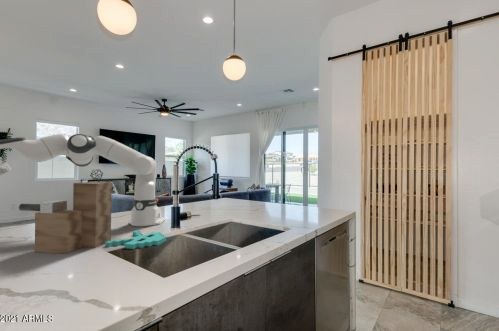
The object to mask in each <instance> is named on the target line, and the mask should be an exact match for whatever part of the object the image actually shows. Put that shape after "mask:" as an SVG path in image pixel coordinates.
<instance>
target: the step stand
mask: <svg viewBox="0 0 499 331" xmlns="http://www.w3.org/2000/svg"><path fill="white" fill-rule="evenodd" d="M72 184H73V185H72V186H73V190H72V191H73V192H72V195H73V196H72V197H73V198H72V200H73V201H72V209H67V210H66V211H61V212H57V213H40V211H36V212H34V253H44V254H45V253H46V254H48V253H49V254H68V253H70V252H73V251H75V250H78V249H80V248H92V249H93V248H95V249H96V248H98V247H100V246H102V245H104V244H105V242H107V241H112V239H111V238H112V189H113V188H112V187H113V186H112V184H113V182H112V181H107V182H105V181H85V182H84V181H83V182H73V183H72Z"/></svg>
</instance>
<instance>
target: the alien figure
mask: <svg viewBox="0 0 499 331" xmlns="http://www.w3.org/2000/svg"><path fill="white" fill-rule="evenodd" d="M132 236H133V237H131V238H123V239H115V240H111V241H107V242H105V247H109V248H111V247H113V246H117V247H118V246H121V245H124V246H123V247H124V249H131V250H135V249H137V248H145V247H152V246H160V245H162V244H163V243H165V242H167V237H166V236H165V235H163V233H161V231H160V232H158V231H150V232H149V233H147V234H144V235H143V233H142V232H141V231H140V230H134V231H132Z"/></svg>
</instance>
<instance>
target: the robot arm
mask: <svg viewBox="0 0 499 331" xmlns="http://www.w3.org/2000/svg"><path fill="white" fill-rule="evenodd" d="M3 149H11V150H14V151H16V152H18V153H19V154H20V155H22V156H23V157H25V158H26V159H28V160H30V161H32V162H35V163H44V162H47V161H49V160H52V159H55V158H57V157H60V156H65V158H66V159H67V160H68V161H70V162H71V163H72V164H73V165H75V166H76V167H81V168H83V167H88V166H89V165H90V164H91V163H92V161H93V159H94V156H100V157H103V158H104V159H107V160H108V161H111V162H113V163H114V164H115V163H116V164H118V165H119V166H121V167H124V168H125V169H128V170H129V171H131V172H133V173H134V174H135V183H134V197H133V198H134V199H133V204H132V205H133V208H131V212H130V220H129V221H128V224H130V226H132V227H133V226H134V227H149V226H156V225H157V226H158V225H161V224H162V223H163V222H165V221H166V217H163V216H162V209H161V208H160V207H158V206H157V204H158V203H159V199H158V198H156V180H157V178H156V177H157V162H156V160H155V159H154V158H152V157H151V156H148V155H145V154H143V153H141V152H139V151H137V150H135V149H134V148H131V147H130V146H127V145H125V144H123V143H122V142H119V141H117V140H115V139H112V138H110V137H106V136H103V135H96V136H95V137H93V136H91V135H86V134H82V133H75V134H72V135H71V136H69V137H68V136H67V135H65V134H62V133H58V134H52V135H48V136H43V137H41V138H40V137H39V138H38V139H37V138H36V139H27V138H25V137H21V136H20V137H11V138H5V139H0V150H3ZM10 172H12V168H11V166H10V165H9V164H8V163H5V162H3V163H0V177H1V176H3V175H6V174H8V173H10Z"/></svg>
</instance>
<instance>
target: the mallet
mask: <svg viewBox="0 0 499 331" xmlns="http://www.w3.org/2000/svg"><path fill="white" fill-rule="evenodd" d="M18 210H19V211H22V212H25V211H26V212H40V213H57V212H61V211H66V210H68V200H62V199H61V200H59V199H56V200H49V201H42V202H40V203H20V204H19V206H18Z"/></svg>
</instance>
